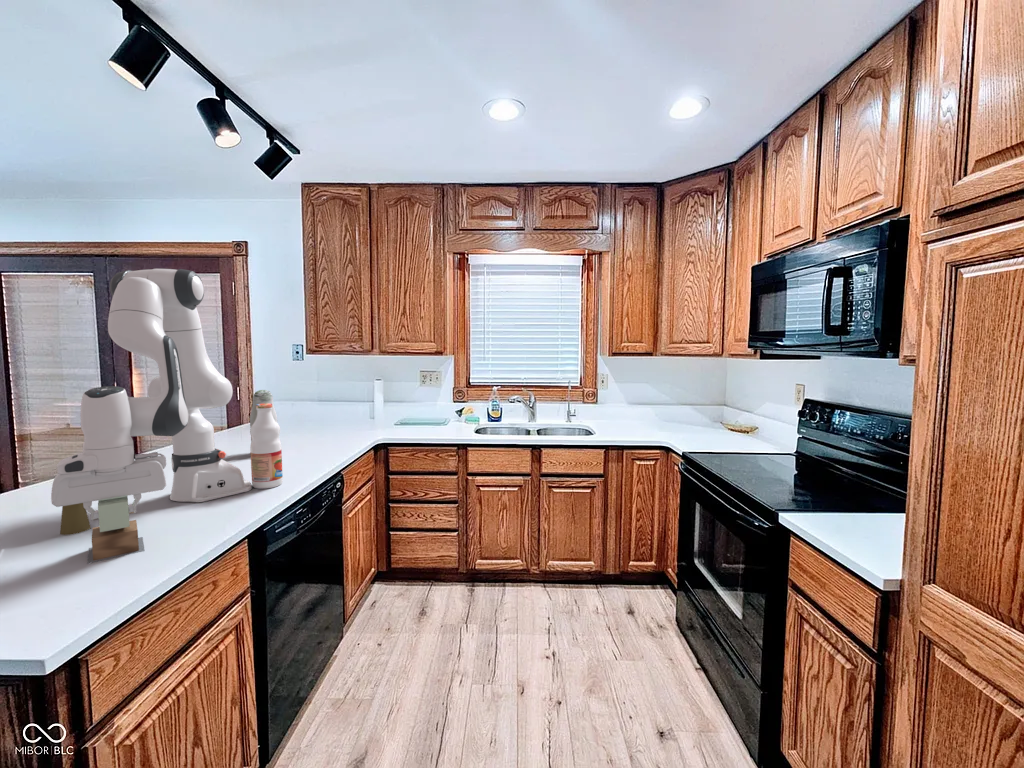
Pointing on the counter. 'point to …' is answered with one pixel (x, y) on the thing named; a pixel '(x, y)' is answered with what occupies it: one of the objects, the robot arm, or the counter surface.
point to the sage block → (113, 513)
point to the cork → (74, 519)
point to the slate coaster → (141, 548)
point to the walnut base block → (114, 541)
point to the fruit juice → (265, 449)
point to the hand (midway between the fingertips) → (114, 515)
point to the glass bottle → (261, 398)
